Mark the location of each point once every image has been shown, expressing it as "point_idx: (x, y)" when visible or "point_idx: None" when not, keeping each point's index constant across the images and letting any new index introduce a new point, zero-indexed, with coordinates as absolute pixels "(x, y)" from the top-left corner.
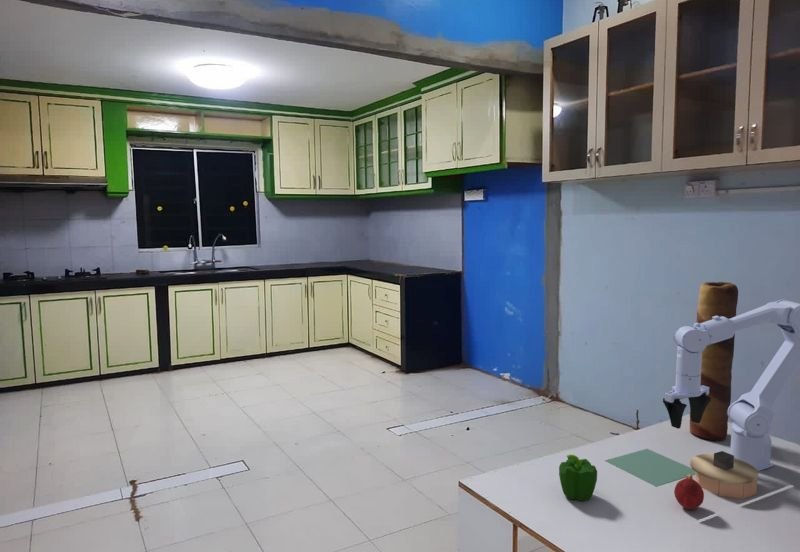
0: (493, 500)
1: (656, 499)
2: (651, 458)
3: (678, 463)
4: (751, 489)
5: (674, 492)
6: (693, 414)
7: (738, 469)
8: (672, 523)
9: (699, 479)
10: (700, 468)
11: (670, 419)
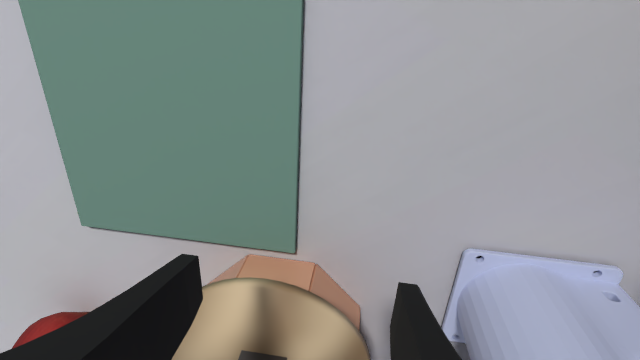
0: None
1: (48, 253)
2: (226, 84)
3: (288, 176)
4: None
5: (27, 328)
6: (403, 341)
7: None
8: (20, 319)
9: None
10: None
11: (144, 282)
